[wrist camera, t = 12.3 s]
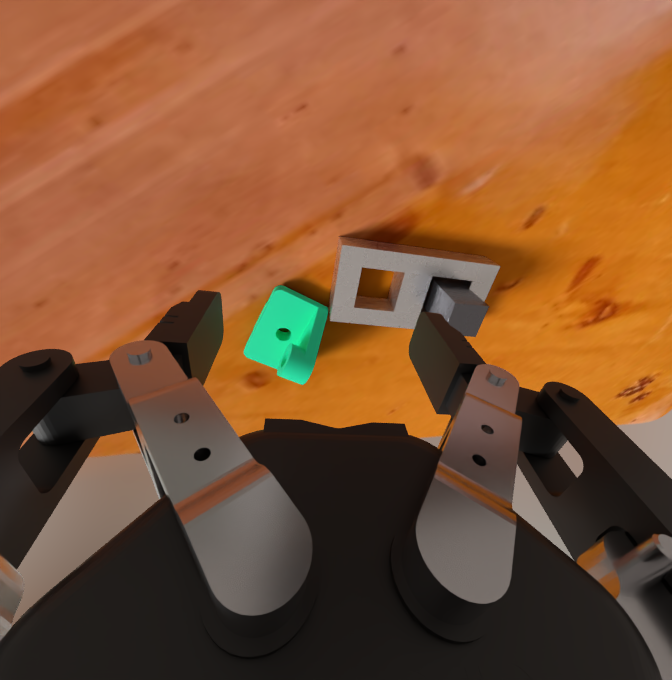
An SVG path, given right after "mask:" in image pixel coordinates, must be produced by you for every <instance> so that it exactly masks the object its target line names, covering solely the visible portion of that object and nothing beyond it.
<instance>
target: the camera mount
mask: <svg viewBox="0 0 672 680" xmlns="http://www.w3.org/2000/svg"><path fill="white" fill-rule="evenodd" d="M327 315H328V307H326V306H324V305H322V304H320V303H318V302H316V301H314V300H312V299H310V298H308V297H306V296H304V295H302V294H300V293H298V292H296V291H293V290H291V289H289V288H287V287H285V286H282V285H279V286H276V287H275V288H274V290H273V292H272V294H271V296H270V298H269V300H268V302H266V304H265V306H264V308H263V310H262V312H261V314H260V316H259V318H258V320H257V322H256V324H255V326H254V329H253V332H252V334H251V336H250V338H249V340H248V342H247V344H246V346H245V349H244V355H245V356H246V357H247V358H249V359H252V360H255V361H257V362H260V363H262V364H265V365H268V366H270V367H273V368H276V369H278V370H277V375H278V376H280V377H283V378H285V379H288V380H291V381H293V382H296V383H299V384H301V385H303V384H305V383H306V381H307V380H308V379H309V377H310V375H311V373H312V371H313V368H314V365H315V361H316V357H317V354H318V350H319V346H320V342H321V338H322V335H323V331H324V327H325V323H326V319H327ZM280 328H287V329H288V330H290V331H288V332H282V331H280V330H279V329H280Z"/></svg>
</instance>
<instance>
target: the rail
mask: <svg viewBox="0 0 672 680" xmlns="http://www.w3.org/2000/svg"><path fill="white" fill-rule="evenodd" d="M362 267H364V268H372V269H380V270H388V271H394V275H393V279H392V282H391V286H390V290H389V294H388V298H387V299H384V298H375V297H366V296H357V295H356V294H357V290H358V285H359V280H360V275H361V270H362ZM499 268H500V266H499V265H498V264H496V263H495V262H493V261H491V260H490V259H488V258H487V257H485V256H479V255H472V254H465V253H457V252H450V251H443V250H436V249H428V248H421V247H414V246H407V245H399V244H392V243H385V242H378V241H370V240H363V239H356V238H349V237H341V236H339V240H338V247H337V253H336V260H335V266H334V273H333V280H332V286H331V293H330V299H329V306H328V310H329V318H330V321H335V322H345V323H355V324H366V325H376V326H387V327H397V328H408V329H415V326H416V323H417V320H418V317H419V315H420V313H421V312H427V311H426V309H425V308H424V306H423V303H424V300H425V297H426V294H427V291H428V288H429V285H430V282H431V279H432V276H436V277H444V278H452V279H459V280H460V281H461V282H462V283H463V284H464V285H466V286H467V287H468V288H469V289H470V290H471V291H472V292H473V293H475V294H476V295H477V296H478V297H479V298H480V299H481V300H483V301H485V299H486V297H487V295H488V293H489V290H490V288H491V286H492V284H493V282H494V279H495V277H496V275H497V273H498V271H499Z"/></svg>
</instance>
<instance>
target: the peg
mask: <svg viewBox="0 0 672 680" xmlns="http://www.w3.org/2000/svg"><path fill="white" fill-rule="evenodd" d="M423 306H424V308H425V309H426V311H427V312H430V313H440V314H441V315H442V316H443V317H444V318H445V320H446V321H447V322H448V323H449V325H450V326H452V327H453V328H455V329H456V330H458V331H459V332H461V333H462V335H463V336H472V337H476V335H477V332H478V330H479V328H480V326H481V323H482V321H483V319H484V317H485V314H486V312H487V310H488V308H489V306H488V305H487V304H486V303H485V302H484V301H483V300H481V299H480V298H479V297H478V296H477V295H476V294H475V293H473V292H472V291H471V290H470V289H469V288H468V287H467V286H466V285H464V284H463V283H462V282H461V281H460V280H459V279H452V278H444V277H436V276H432V279H431V282H430V285H429V288H428V291H427V294H426V297H425V300H424V303H423Z"/></svg>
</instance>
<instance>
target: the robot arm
mask: <svg viewBox="0 0 672 680" xmlns="http://www.w3.org/2000/svg"><path fill="white" fill-rule="evenodd" d="M222 340H223V315H222V300H221V294H220V293H219V292H212V291H201V290H198V291H197V292H196V294H195V295H194V296H193V298H192V299H191V300H190V302H181V303H179V304H177V305H175V306H173V307H171V308H170V310H169V311H168V312H167V313H166V314H165V316H164V317H163V318H162V319H161V320H160V323H158V324H157V325H156V326H155V328H154V329H153V330H152V331H151V332H150V334H149V335H148V336H147V337H146V338H145V339H144V340H143V341H136V342H131V343H128V344H125V345H123V346H121V347H119V348H117V349H116V350H115V351H113V353H112V354H111V355H110V358H109V360H106V361H98V362H90V363H81V364H75V362H74V359H73V357H72V355H71V354H70V353H69V352H67V351H64V350H60V349H45V350H38V351H33V352H29V353H26V354H23V355H20V356H17V357H15V358H13V359H11V360H9V361H8V362H6V363H5V364H3V365H2V366H1V367H0V680H672V479H671V478H670V477H669V476H668V475H667V474H666V473H665V472H664V471H663V470H662V469H661V468H660V467H659V466H657V465H656V464H655V463H654V462H653V461H652V460H651V459H650V458H649V457H648V456H647V455H646V454H645V453H644V452H643V451H642V450H641V449H640V448H639V447H638V446H637V445H636V444H635V443H634V442H633V441H632V440H631V439H630V438H629V437H628V436H627V435H626V434H625V433H624V432H623V431H622V430H620V429H619V428H618V427H617V426H616V425H615V424H614V423H613V422H612V421H611V420H610V419H609V418H608V417H607V416H606V415H605V414H604V413H603V412H602V411H601V410H600V409H599V408H598V407H597V406H596V405H595V404H594V403H593V402H592V401H591V400H590V399H589V398H588V397H586V396H585V395H584V394H583V393H581V392H580V391H578V390H576V389H575V388H573V387H570V386H568V385H566V384H562V383H559V382H547V383H546V384H545V385H544V386H543V388H542V389H541V391H540V392H537V391H533V390H529V389H526V388H522V387H519V382H518V381H517V379H516V378H515V377H514V376H513V375H512V374H510V373H509V372H507V371H506V370H504V369H502V368H500V367H497V366H494V365H489V364H486V363H485V362H484V361H483V359H482V358H481V357H480V356H479V354H478V353H477V352H476V351H475V350H474V348H472V346H471V345H470V343H469V342H467V340H466V338H465V337H464V336H463V335H462V333H461V332H459V331H458V330H456V329H455V328H453V327H452V326H450V325H449V323H448V322H447V321H446V320H445V318H444V317H443V316H442V315H441V314H440V313H430V312H421V313H420V315H419V317H418V320H417V323H416V326H415V329H414V332H413V335H412V338H411V341H410V345H409V356H410V359H411V361H412V363H413V365H414V367H415V369H416V371H417V373H418V376H419V378H420V380H421V382H422V384H423V386H424V388H425V390H426V392H427V395H428V397H429V399H430V401H431V403H432V405H433V407H434V409H435V411H436V414H448V415H451V419H450V421H449V423H448V425H447V427H446V429H445V432H444V434H443V436H442V439H441V441H440V443H439V446H438V448H437V447H435V446H433V445H431V444H430V443H428V442H426V441H424V440H422V439H419V438H417V437H414V436H411V435H408V432H407V430H406V427H405V424H396V423H367V424H362V425H356V426H351V427H345V428H333V427H328V426H324V425H320V424H316V423H312V422H308V421H304V420H292V419H266V418H265V425H264V430H259V431H255V432H252V433H248V434H246V435H243V436H241V437H238V435H237V434H236V433H235V431H234V430H233V428H232V427H231V425H230V424H229V423H228V421H227V420H226V418H225V417H224V415H223V414H222V413H221V411H220V410H219V408H218V407H217V406H216V404H215V403H214V401H213V400H212V398H211V397H210V396H209V394H208V393H207V391H206V390H205V388H204V387H203V385H204V383H205V380H206V378H207V376H208V373H209V371H210V369H211V366H212V364H213V362H214V360H215V357H216V355H217V353H218V350H219V348H220V346H221V343H222ZM130 430H132V431H133V433H134V436H135V438H136V441H137V443H138V446H139V448H140V451H141V453H142V456H143V458H144V460H145V463H146V465H147V468H148V470H149V473H150V475H151V478H152V481H153V483H154V486H155V489H156V492H157V495H158V497H159V500H158V501H157V502H156V503H154V504H153V505H152V506H151V507H150V508H148V509H147V510H146V511H145V512H144V513H143V514H142V515H140V516H139V517H138V518H136V519H135V520H134V521H133V522H132V523H130V524H129V525H128V526H127V527H125V528H124V529H123V530H122V531H121V532H119V533H118V534H117V535H116V536H115V537H113V538H112V539H111V540H110V541H109V542H108V543H106V544H105V545H104V546H103V547H101V548H100V549H99V550H98V551H97V552H95V553H94V554H93V555H92V556H91V557H89V558H88V559H87V560H86V561H85V562H83V563H82V564H81V565H80V566H79V567H77V568H76V569H75V570H74V571H73V572H71V573H70V574H69V575H68V576H66V577H65V578H64V579H63V580H62V581H60V582H59V583H58V584H57V585H56V586H54V587H53V588H52V589H51V590H50V591H49V592H47V593H46V594H45V595H44V596H43V597H42V598H40V599H39V600H38V601H37V602H36V603H35V604H34V605H33V606H32V607H30V608H29V609H28V610H27V611H26V612H25V614H23V615H22V617H21V618H20V619H19V620H18V621H17V622H16V623H15V624H14V625H13V626H12V622H13V618H14V615H15V613H16V610H17V608H18V606H19V603H20V601H21V598H22V595H23V592H24V580H23V577H22V575H21V574H20V573H19V572H18V571H17V568H18V567H19V565H20V564H21V562H22V560H23V559H24V557H25V555H26V554H27V552H28V551H29V549H30V548H31V546H32V544H33V543H34V541H35V540H36V538H37V537H38V535H39V533H40V532H41V530H42V528H43V527H44V525H45V524H46V522H47V520H48V519H49V517H50V516H51V514H52V513H53V511H54V509H55V508H56V506H57V505H58V503H59V501H60V500H61V498H62V497H63V495H64V494H65V492H66V490H67V489H68V487H69V485H70V484H71V482H72V481H73V479H74V478H75V476H76V474H77V473H78V471H79V470H80V468H81V466H82V465H83V463H84V462H85V460H86V458H87V457H88V455H89V454H90V452H91V450H92V449H93V447H94V446H95V444H96V443H97V441H98V439H99V438H100V436H105V435H110V434H115V433H120V432H125V431H130ZM32 431H33V433H34V434H33V435H32V436H31V437H30V438H29V439H28V440H27V442H26V443H25V444H24V445H23V446H22V447H21V444H22V443H23V441H24V440H25V438H26V437H27V436H28V435H29V434H30V433H31V432H32ZM567 440H568V441H569V442H570V444H571V445H572V446H573V447H574V448H575V450H576V451H577V452H578V453H579V455H580V456H581V458H582V460H583V466H584V467H583V472H582V473H581V475H580V476H579V477H578V478H577V477H576V476H575V475H574V473H573V472H572V471H571V469H570V468H569V467H568V465H567V464H566V462H565V461H564V460H563V458H562V457H561V456H560V454H559V453H558V451H559V450H560V449H561V448H562V446H563V445H564V444H565V443H566V442H567ZM20 447H21V449H20ZM19 449H20V450H19ZM517 464H518V466H519V468H520V469H521V471H522V472H523V475H524V476H525V478H526V480H527V481H528V482H529V485H530V486H531V488H532V490H533V491H534V493H535V495H536V496H537V498H538V500H539V501H540V503H541V505H542V507H543V508H544V510H545V512H546V513H547V515H548V517H549V519H550V520H551V522H552V524H553V525H554V527H555V528H556V530H557V532H558V534H559V535H560V537H561V539H562V540H563V542H564V544H565V546H566V547H567V549H568V551H569V552H570V554H571V556H572V558H573V559H574V560H572V559H571V558H570V557H569V556H568V555H566V554H565V553H564V552H563V551H561V550H560V549H559V548H558V547H557V546H556V545H554V544H553V543H552V542H551V541H550V540H548V539H547V538H546V537H545V536H543V535H542V534H541V533H540V532H539V531H537V530H536V529H535V528H534V527H533V526H531V525H530V524H529V523H528V522H527V521H525V520H524V519H523V518H522V517H521V516H519V515H518V514H517V513H516V512H515V511H513V509H512V500H513V491H514V483H515V475H516V467H517Z"/></svg>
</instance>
